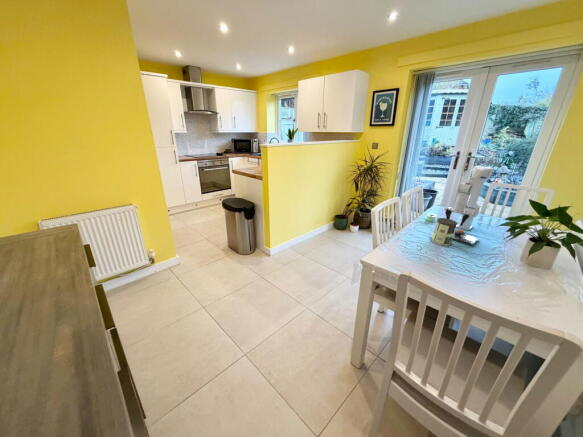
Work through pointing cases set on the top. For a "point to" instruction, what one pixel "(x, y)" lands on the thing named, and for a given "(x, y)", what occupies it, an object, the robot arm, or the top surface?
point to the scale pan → (468, 237)
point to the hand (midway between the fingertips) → (454, 223)
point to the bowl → (431, 217)
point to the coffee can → (444, 231)
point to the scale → (458, 238)
